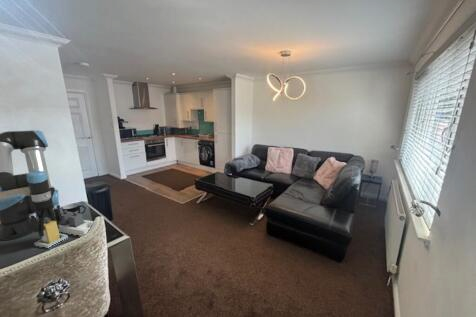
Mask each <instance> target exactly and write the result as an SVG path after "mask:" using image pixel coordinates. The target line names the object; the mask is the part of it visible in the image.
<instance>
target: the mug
mask: <svg viewBox="0 0 476 317" xmlns="http://www.w3.org/2000/svg"><path fill="white" fill-rule="evenodd" d="M81 207H82V208H83V211H82V212H81ZM86 209H87V208H86V206H85V205H80V203H79V202H73V203H67V204H66V205H64V206H62V209H61V210H62V213H64V212H63V211H64V210H67V211H69V212H77V213H80V214H85V212H86Z"/></svg>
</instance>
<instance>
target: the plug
mask: <svg viewBox="0 0 476 317" xmlns="http://www.w3.org/2000/svg"><path fill="white" fill-rule="evenodd" d="M43 230H45V231H46V235H47V240H48V241H43V243H45V244H50V243H52V242H53V241H55V240H57V239H59V238H60V236H59V233H60V232H58V227H57V223H56V221H52V220H51V219H50V218H45V219H44V228H43Z"/></svg>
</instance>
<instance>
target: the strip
mask: <svg viewBox="0 0 476 317" xmlns="http://www.w3.org/2000/svg"><path fill="white" fill-rule="evenodd" d="M63 212H64V213H63ZM80 213H81V212H80ZM80 213H77V212H69V211H67V210H64V211H63V210H62V213H61V218H62V221H60V224H59V229H58V231H59V233H61V232H62V233H61V234H66V233H67V234H66V235H71V234H73V235H72V236H76V235H79V236H78V237H81V236H83V235H84V234H86V233H87V232H88V230H89V229H90V227H91V225H92V224H93V222H95V221H93V220H88V219H84V216H83V214H84V213H83V214H80Z"/></svg>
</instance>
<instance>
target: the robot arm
mask: <svg viewBox="0 0 476 317" xmlns="http://www.w3.org/2000/svg"><path fill="white" fill-rule="evenodd" d="M48 147H49V144H48V142H47V139H46V137H45V134H44V132H43V131H42V130H33V129H31V130H16V131H15V130H14V131H11V130H8V131H3V132H1V133H0V193H3V192H8V191H12V190H17V189H18V190H19V189H24V188H28V189H29V194H28V195H25V194H24V193H17V194H12V195H10V196H6V197H3V198H2V199H0V240H1V241H12V240H16V239H20V238H23V237H26V236H27V235H29V234H32V233H33V232H34V233H38V235H39V237H40V238H41V239H42V240H43V241H48V240H47V235H46V231H45V230H43V228H44V222H45V220H46V217H47V216H48V217H49V220H52V221H56V223H57V227H58V229H59V224H60V221H62V218H61V214H62V213H61V210H60V209H61V205H60V204H59V202H60V201H59V199H60V198H59V189H55V186H52V185H51V180H50V176H49V172H48V167H47V164H46V163H47V162H46V159H45V153H44V152H45V151H46V148H48ZM14 150H20V152H21V153H22V154H24V156H25V157H24V158H25V162H26V167H27V169H28V170H27V171H28V172H27V173H20V174H14V167H13V157H12V152H13V151H14ZM53 211H54V212H53ZM58 232H59V231H58ZM59 233H60V232H59Z"/></svg>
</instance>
